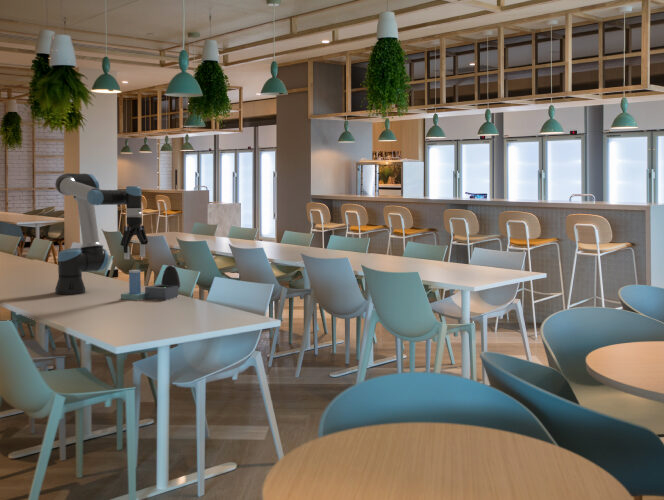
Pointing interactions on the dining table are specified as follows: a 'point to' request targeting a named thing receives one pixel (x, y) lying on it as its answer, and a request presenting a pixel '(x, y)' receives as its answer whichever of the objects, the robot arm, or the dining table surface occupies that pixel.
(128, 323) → the dining table surface
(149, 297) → the port
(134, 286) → the plug
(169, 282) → the black egg shape
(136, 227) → the robot arm
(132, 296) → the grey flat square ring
